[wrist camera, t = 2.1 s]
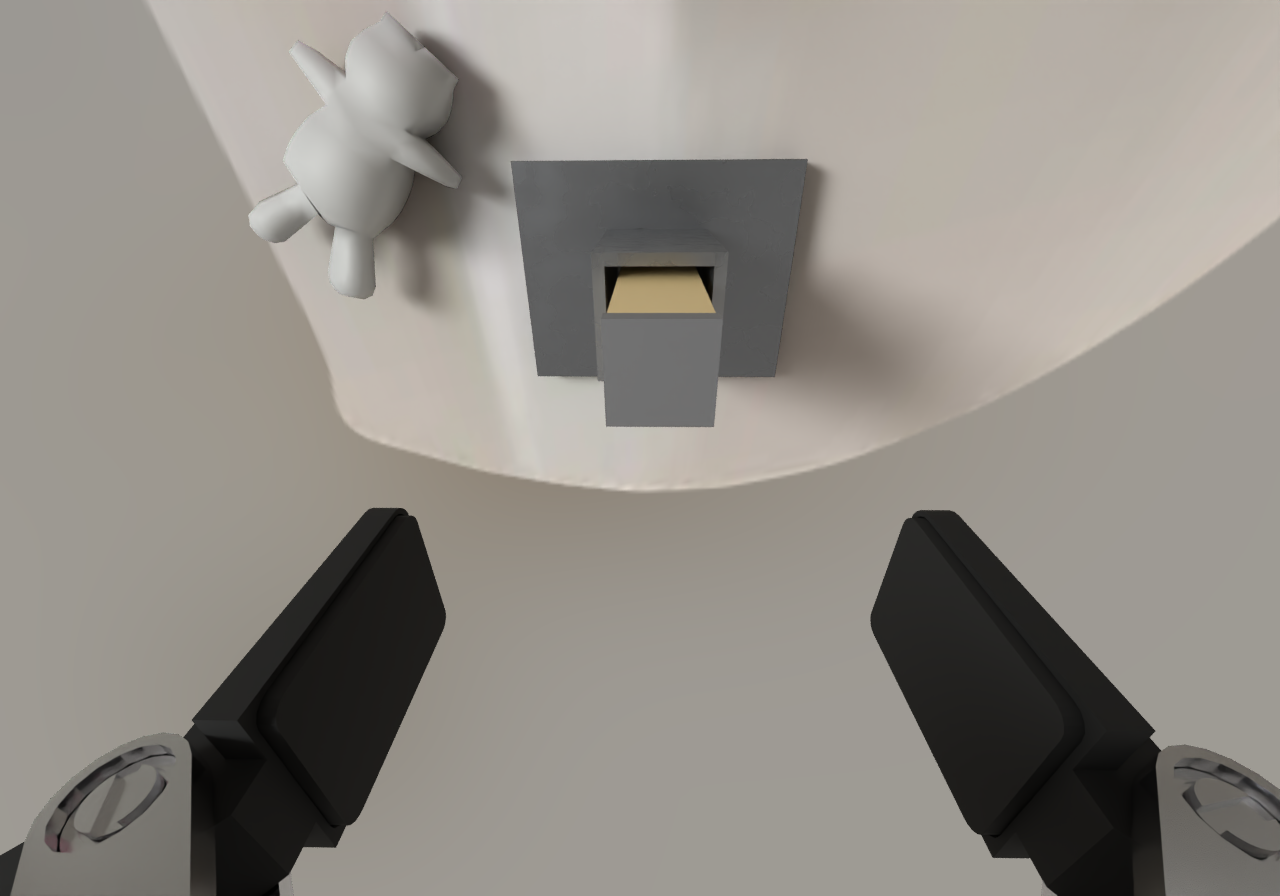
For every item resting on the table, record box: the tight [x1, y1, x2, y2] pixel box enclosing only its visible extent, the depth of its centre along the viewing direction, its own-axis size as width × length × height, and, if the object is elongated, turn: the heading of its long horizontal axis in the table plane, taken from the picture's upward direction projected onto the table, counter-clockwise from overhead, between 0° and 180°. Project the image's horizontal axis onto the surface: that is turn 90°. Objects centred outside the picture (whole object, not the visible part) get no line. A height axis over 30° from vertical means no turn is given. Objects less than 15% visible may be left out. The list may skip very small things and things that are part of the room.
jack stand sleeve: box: [511, 159, 808, 381], centre depth 28 cm, size 18×14×12 cm
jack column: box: [601, 266, 723, 427], centre depth 24 cm, size 4×4×17 cm
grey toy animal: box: [248, 11, 462, 299], centre depth 28 cm, size 10×5×15 cm
